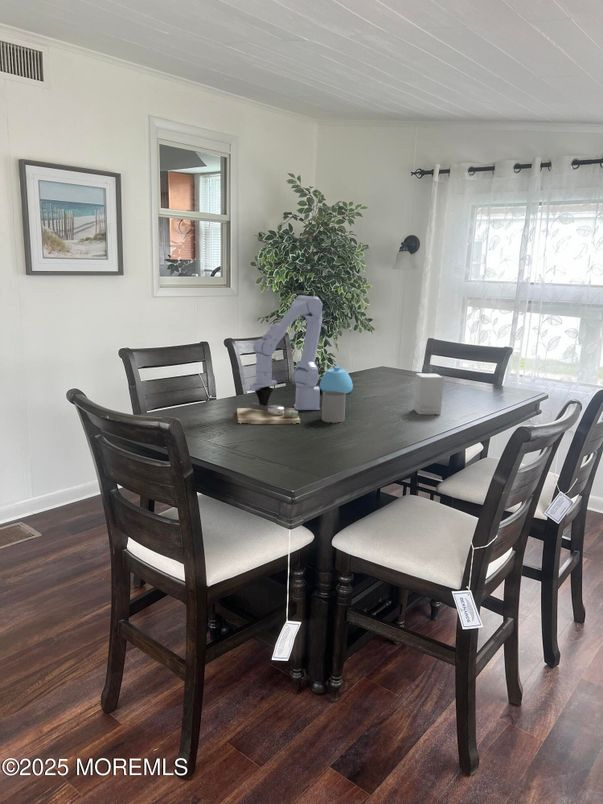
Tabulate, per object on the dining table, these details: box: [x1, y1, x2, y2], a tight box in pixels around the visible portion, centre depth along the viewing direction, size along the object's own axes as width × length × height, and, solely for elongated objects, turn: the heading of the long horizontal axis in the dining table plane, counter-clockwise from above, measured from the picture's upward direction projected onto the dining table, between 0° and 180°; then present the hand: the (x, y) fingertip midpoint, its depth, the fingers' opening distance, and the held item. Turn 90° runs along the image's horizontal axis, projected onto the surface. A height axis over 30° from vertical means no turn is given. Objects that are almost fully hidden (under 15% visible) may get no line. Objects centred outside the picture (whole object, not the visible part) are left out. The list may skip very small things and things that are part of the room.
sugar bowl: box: [319, 366, 354, 395], centre depth 271 cm, size 15×15×12 cm
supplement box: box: [413, 372, 445, 416], centre depth 236 cm, size 9×9×15 cm
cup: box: [321, 391, 347, 424], centre depth 221 cm, size 8×8×10 cm
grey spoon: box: [250, 402, 285, 415], centre depth 223 cm, size 14×6×2 cm, turn 58°
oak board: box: [236, 407, 301, 425], centre depth 222 cm, size 22×18×4 cm
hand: (263, 406), depth 226 cm, fingers closed
